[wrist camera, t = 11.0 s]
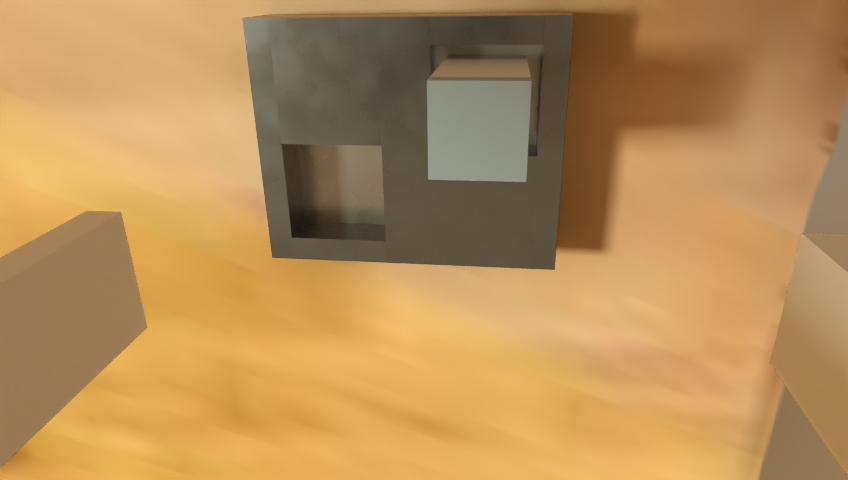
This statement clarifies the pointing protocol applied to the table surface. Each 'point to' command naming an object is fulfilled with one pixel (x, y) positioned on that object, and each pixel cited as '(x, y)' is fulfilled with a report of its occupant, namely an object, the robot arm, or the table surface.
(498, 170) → the plug
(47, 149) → the table surface
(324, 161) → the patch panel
